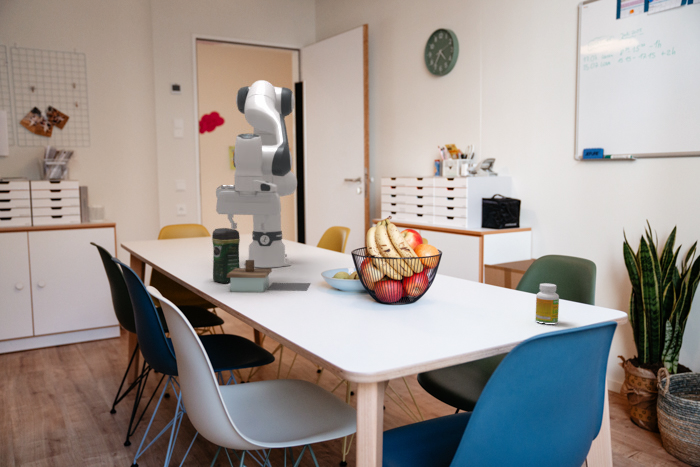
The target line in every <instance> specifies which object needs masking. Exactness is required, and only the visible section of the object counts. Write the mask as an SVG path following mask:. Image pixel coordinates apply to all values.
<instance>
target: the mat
mask: <svg viewBox="0 0 700 467" xmlns="http://www.w3.org/2000/svg"><path fill="white" fill-rule="evenodd" d="M311 284H312V283H311V282H272V283H271V284H269V286H268V287H267V288H266V291H271V292H272V291H280V292H282V291H283V292H286V291H287V292H288V291H289V292H293V291H294V292H307V291H308V289H309V288H310V286H311Z"/></svg>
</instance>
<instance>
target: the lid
mask: <svg viewBox="0 0 700 467" xmlns="http://www.w3.org/2000/svg"><path fill="white" fill-rule="evenodd" d="M244 264H245V265H244V266H245V267H242V268H241V267H240V268H235V269H234V270H232V271H231V272H229V273H228V274H227V278H266V277H267V276H268V275H270V274H271V273H272V268H270V267H268V268H263V267H254V260H248V259H247V260H245V262H244Z"/></svg>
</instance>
